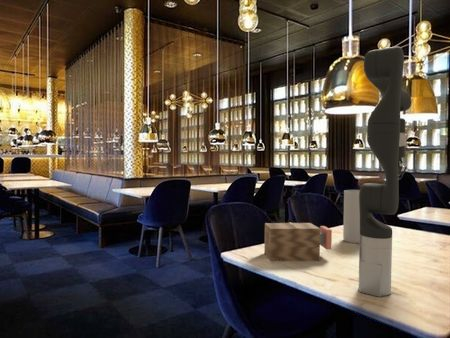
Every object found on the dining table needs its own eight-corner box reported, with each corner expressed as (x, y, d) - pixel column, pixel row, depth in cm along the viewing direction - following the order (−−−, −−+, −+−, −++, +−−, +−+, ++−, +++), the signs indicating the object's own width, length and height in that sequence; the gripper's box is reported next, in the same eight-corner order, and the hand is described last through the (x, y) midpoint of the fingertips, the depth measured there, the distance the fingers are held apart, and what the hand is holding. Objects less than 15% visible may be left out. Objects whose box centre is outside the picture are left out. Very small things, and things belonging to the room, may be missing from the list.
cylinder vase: (348, 237, 181) (349, 189, 181) (373, 240, 173) (374, 191, 173) (339, 241, 172) (340, 191, 171) (365, 245, 164) (366, 192, 163)
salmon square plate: (324, 244, 148) (324, 226, 148) (331, 249, 140) (331, 229, 140) (278, 245, 147) (278, 226, 147) (282, 250, 139) (283, 230, 139)
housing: (309, 252, 150) (310, 222, 150) (319, 260, 138) (320, 227, 138) (264, 253, 149) (264, 222, 148) (270, 261, 137) (270, 228, 136)
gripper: (376, 145, 141) (375, 188, 141) (395, 144, 127) (394, 191, 128) (394, 146, 141) (393, 188, 142) (414, 144, 128) (413, 191, 128)
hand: (393, 189), depth 135 cm, fingers closed
